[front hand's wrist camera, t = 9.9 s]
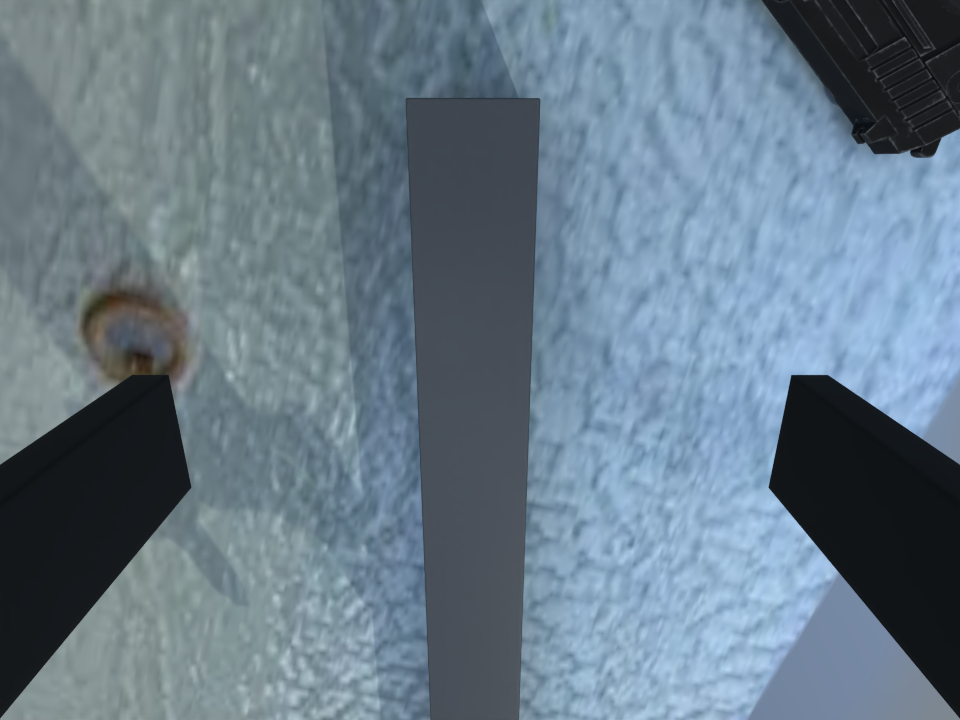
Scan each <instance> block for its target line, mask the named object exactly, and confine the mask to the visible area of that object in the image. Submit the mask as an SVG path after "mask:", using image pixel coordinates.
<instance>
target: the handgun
mask: <svg viewBox="0 0 960 720" xmlns="http://www.w3.org/2000/svg"><path fill="white" fill-rule="evenodd" d="M762 1H763V3H764V4H765V5H766V7H767V8H768V9H769V11H770V12H771V13H772V15H773V16H774V18H775V19H776V20H777V22H778V23H779V24H780V26H781V27H782V28H783V30H784V31H785V33H786V34H787V35H788V37H789V38H790V39H791V41H792V42H793V43H794V45H795V46H796V48H797V49H798V50H799V52H800V53H801V54H802V56H803V57H804V58H805V60H806V61H807V63H808V64H809V65H810V67H811V68H812V69H813V71H814V72H815V73H816V75H817V76H818V78H819V79H820V80H821V82H822V83H823V84H824V86H825V87H826V88H827V90H828V91H829V93H830V94H831V95H832V97H833V98H834V99H835V101H836V102H837V103H838V105H839V106H840V108H841V109H842V110H843V112H844V113H845V114H846V116H847V117H848V118H849V120H850V121H851V123H852V124H853V125H854V126H853V130H852V134H851V135H852V136H853V138H854V139H855V141H856V142H857V143H858V144H863V143H865V142H866V143H867V144H868V146H869V147H870V148H871V150H872V151H873V153H874V154H900V153H903V152H907V151H910V150H911V152H910V154H911V156H913V157H916V158H928V157H932V156H934V154H935V153H936V150H937V148H938V145H939V143H940V140H941V138H942V137H944V136H946V135H948V134H950V133H952V132H954V131H956V130H958V129H960V0H762Z"/></svg>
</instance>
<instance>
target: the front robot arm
mask: <svg viewBox="0 0 960 720" xmlns="http://www.w3.org/2000/svg"><path fill="white" fill-rule="evenodd" d="M190 488H191V483H190V478H189V474H188V469H187V464H186V459H185V454H184V449H183V444H182V439H181V434H180V429H179V424H178V419H177V415H176V410H175V405H174V400H173V395H172V390H171V385H170V380H169V375H132V376H130V377H129V378H127V379H126V380H124V381H123V382H121V383H120V384H118V385H117V386H115V387H114V388H112V389H111V390H110V391H108V392H107V393H105V394H104V395H102V396H101V397H99V398H98V399H96V400H95V401H93V402H92V403H90V404H89V405H87V406H86V407H85V408H83V409H82V410H80V411H79V412H77V413H76V414H74V415H73V416H71V417H70V418H68V419H67V420H65V421H64V422H62V423H61V424H59V425H58V426H57V427H55V428H54V429H52V430H51V431H49V432H48V433H46V434H45V435H43V436H42V437H40V438H39V439H37V440H36V441H34V442H33V443H32V444H30V445H29V446H27V447H26V448H24V449H23V450H21V451H20V452H18V453H17V454H15V455H14V456H12V457H11V458H9V459H8V460H6V461H5V462H4V463H2V464H1V465H0V718H1V717H2V716H3V714H4V713H5V712H6V711H7V709H8V708H9V707H10V706H11V705H12V703H13V702H14V701H15V700H16V699H17V697H18V696H19V695H20V694H21V693H22V691H23V690H24V689H25V688H26V687H27V685H28V684H29V683H30V682H31V681H32V679H33V678H34V677H35V676H36V674H37V673H38V672H39V671H40V670H41V668H42V667H43V666H44V665H45V664H46V662H47V661H48V660H49V659H50V658H51V656H52V655H53V654H54V653H55V652H56V650H57V649H58V648H59V647H60V645H61V644H62V643H63V642H64V641H65V639H66V638H67V637H68V636H69V635H70V633H71V632H72V631H73V630H74V629H75V627H76V626H77V625H78V624H79V623H80V621H81V620H82V619H83V618H84V616H85V615H86V614H87V613H88V612H89V610H90V609H91V608H92V607H93V606H94V604H95V603H96V602H97V601H98V600H99V598H100V597H101V596H102V595H103V594H104V592H105V591H106V590H107V589H108V588H109V586H110V585H111V584H112V583H113V581H114V580H115V579H116V578H117V577H118V575H119V574H120V573H121V572H122V571H123V569H124V568H125V567H126V566H127V565H128V563H129V562H130V561H131V560H132V559H133V557H134V556H135V555H136V554H137V552H138V551H139V550H140V549H141V548H142V546H143V545H144V544H145V543H146V542H147V540H148V539H149V538H150V537H151V536H152V534H153V533H154V532H155V531H156V530H157V528H158V527H159V526H160V525H161V524H162V522H163V521H164V520H165V519H166V517H167V516H168V515H169V514H170V513H171V511H172V510H173V509H174V508H175V507H176V505H177V504H178V503H179V502H180V501H181V499H182V498H183V497H184V496H185V495H186V493H187V492H188V491H189V490H190ZM769 488H770V490H771V491H772V492H773V493H774V495H775V496H776V497H777V498H778V499H779V501H780V502H781V503H782V504H783V505H784V507H785V508H786V509H787V510H788V511H789V513H790V514H791V515H792V516H793V517H794V519H795V520H796V521H797V522H798V524H799V525H800V526H801V527H802V528H803V530H804V531H805V532H806V533H807V534H808V536H809V537H810V538H811V539H812V540H813V542H814V543H815V544H816V545H817V546H818V548H819V549H820V550H821V551H822V552H823V554H824V555H825V556H826V557H827V559H828V560H829V561H830V562H831V563H832V565H833V566H834V567H835V568H836V569H837V571H838V572H839V573H840V574H841V575H842V577H843V578H844V579H845V580H846V581H847V583H848V584H849V585H850V586H851V587H852V589H853V590H854V591H855V592H856V594H857V595H858V596H859V597H860V598H861V600H862V601H863V602H864V603H865V604H866V606H867V607H868V608H869V609H870V610H871V612H872V613H873V614H874V615H875V616H876V618H877V619H878V620H879V621H880V623H881V624H882V625H883V626H884V627H885V628H886V630H887V631H888V632H889V633H890V635H891V636H892V637H893V638H894V639H895V641H896V642H897V643H898V644H899V645H900V647H901V648H902V649H903V650H904V651H905V653H906V654H907V655H908V656H909V658H910V659H911V660H912V661H913V662H914V664H915V665H916V666H917V667H918V668H919V670H920V671H921V672H922V673H923V674H924V676H925V677H926V678H927V679H928V680H929V682H930V683H931V684H932V685H933V687H934V688H935V689H936V690H937V691H938V693H939V694H940V695H941V696H942V697H943V699H944V700H945V701H946V702H947V703H948V705H949V706H950V707H951V708H952V709H953V711H954V712H955V713H956V714H957V716H958V717H959V718H960V465H959V464H958V463H956V462H955V461H954V460H952V459H951V458H949V457H948V456H946V455H945V454H943V453H942V452H940V451H939V450H937V449H936V448H934V447H933V446H931V445H930V444H928V443H927V442H926V441H924V440H923V439H921V438H920V437H918V436H917V435H915V434H914V433H912V432H911V431H909V430H908V429H906V428H905V427H903V426H902V425H901V424H899V423H898V422H896V421H895V420H893V419H892V418H890V417H889V416H887V415H886V414H884V413H883V412H881V411H880V410H878V409H877V408H875V407H874V406H873V405H871V404H870V403H868V402H867V401H865V400H864V399H862V398H861V397H859V396H858V395H856V394H855V393H853V392H852V391H850V390H849V389H848V388H846V387H845V386H843V385H842V384H840V383H839V382H837V381H836V380H834V379H833V378H831V377H830V376H828V375H791V380H790V385H789V390H788V395H787V400H786V405H785V410H784V415H783V419H782V424H781V429H780V434H779V439H778V444H777V449H776V454H775V459H774V464H773V469H772V474H771V478H770V483H769Z"/></svg>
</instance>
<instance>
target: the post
mask: <svg viewBox="0 0 960 720" xmlns="http://www.w3.org/2000/svg"><path fill="white" fill-rule="evenodd" d="M406 117H407V142H408V167H409V192H410V217H411V242H412V267H413V292H414V317H415V341H416V366H417V391H418V416H419V441H420V466H421V491H422V516H423V541H424V566H425V591H426V616H427V641H428V666H429V691H430V716H431V720H519V700H520V671H521V642H522V613H523V584H524V555H525V526H526V497H527V468H528V440H529V411H530V382H531V353H532V324H533V295H534V266H535V237H536V208H537V179H538V150H539V121H540V99H539V98H406Z"/></svg>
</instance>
